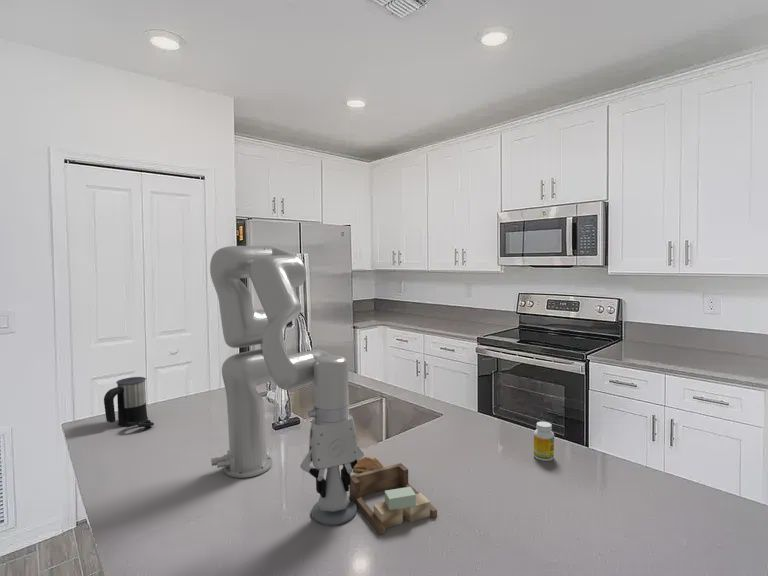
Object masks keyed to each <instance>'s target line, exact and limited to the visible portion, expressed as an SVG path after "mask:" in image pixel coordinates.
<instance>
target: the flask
mask: <svg viewBox="0 0 768 576" xmlns="http://www.w3.org/2000/svg"><path fill="white" fill-rule="evenodd" d="M324 479H325V487H326V496H325V497H324V498H322V497H321V495H320V494H319V498H318V501H317V502H318V505H319V507H320V509H321V510H324V511H332V512H334V511H338V510H342V509H346V508H347V506H348V504H349V503H350V500H349V499H350V496H349V495H348V493H347V492H348V491H347V492H346V491H345V487H344V485H343V482H342V479H341V470H340V465H339V466H335V467H331V468H326V475H325V478H324Z"/></svg>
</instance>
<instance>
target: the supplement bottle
mask: <svg viewBox="0 0 768 576" xmlns="http://www.w3.org/2000/svg"><path fill="white" fill-rule="evenodd" d="M552 430H553V425H552V423H550V422H548V421H537V422H536V429H535V430H534V432H533V457H535V459H537V460H539V461H543V462H548V461H553V459H554V455H555V434H554V432H553V431H552Z"/></svg>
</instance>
